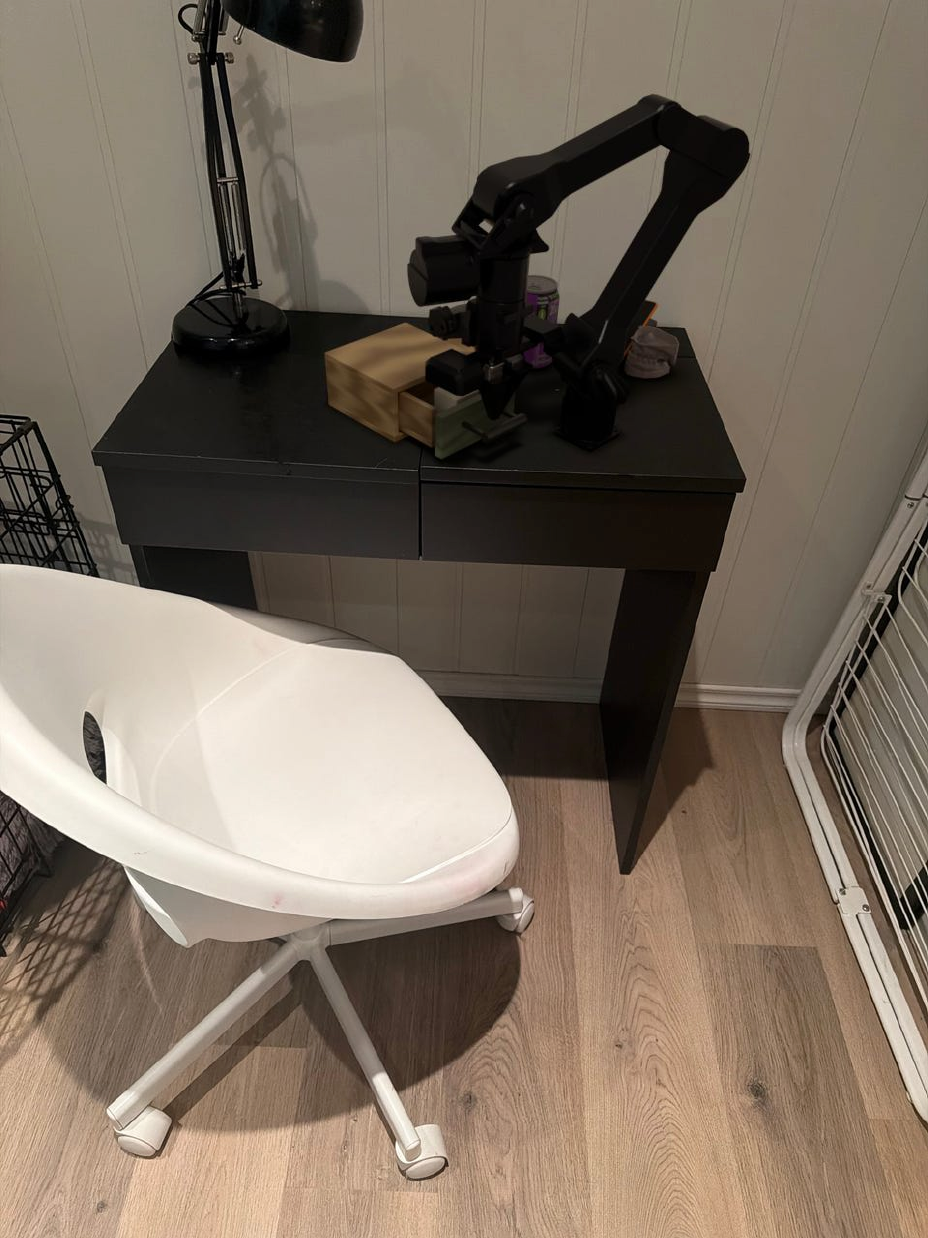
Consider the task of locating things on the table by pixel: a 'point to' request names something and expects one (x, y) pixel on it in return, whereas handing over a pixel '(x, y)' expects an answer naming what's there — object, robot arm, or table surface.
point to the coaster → (458, 343)
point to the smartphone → (639, 321)
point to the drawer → (451, 420)
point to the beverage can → (542, 312)
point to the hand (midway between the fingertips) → (493, 418)
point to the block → (449, 399)
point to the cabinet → (380, 375)
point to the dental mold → (651, 353)
